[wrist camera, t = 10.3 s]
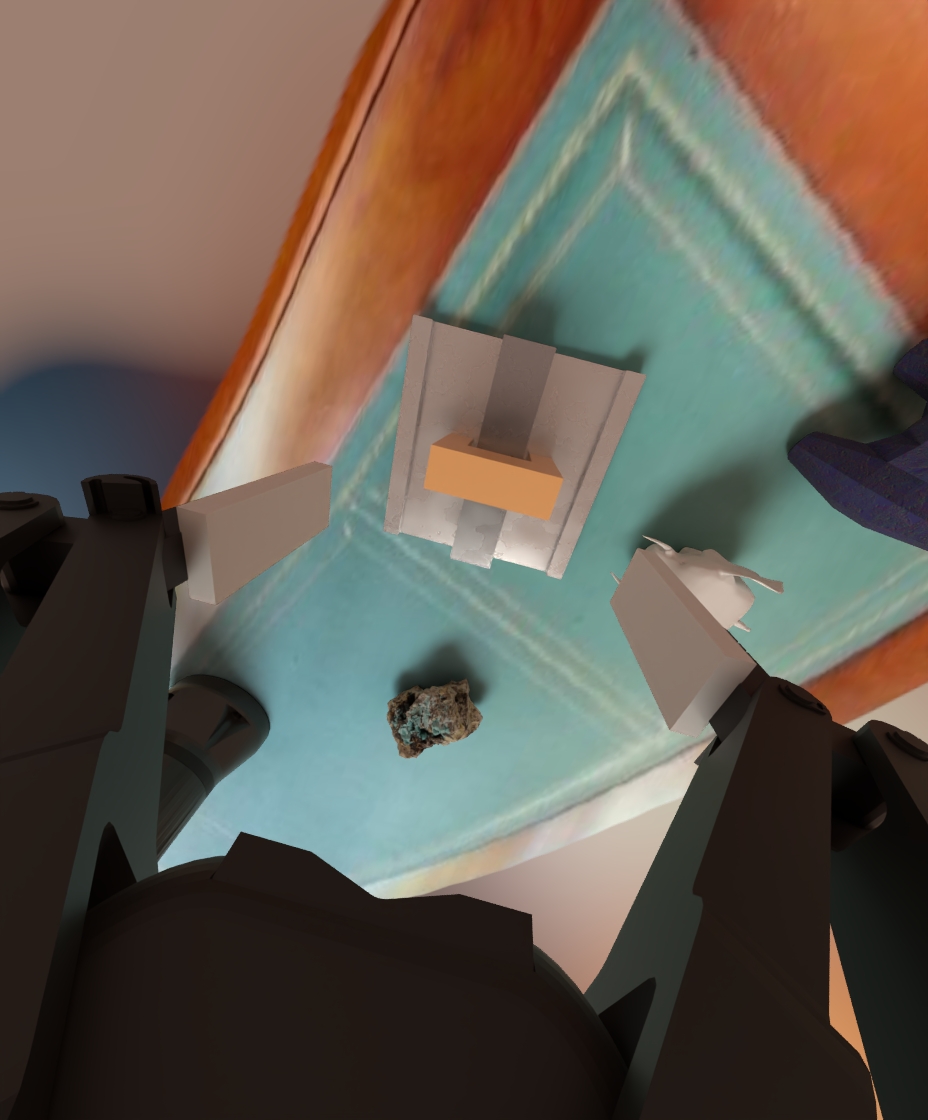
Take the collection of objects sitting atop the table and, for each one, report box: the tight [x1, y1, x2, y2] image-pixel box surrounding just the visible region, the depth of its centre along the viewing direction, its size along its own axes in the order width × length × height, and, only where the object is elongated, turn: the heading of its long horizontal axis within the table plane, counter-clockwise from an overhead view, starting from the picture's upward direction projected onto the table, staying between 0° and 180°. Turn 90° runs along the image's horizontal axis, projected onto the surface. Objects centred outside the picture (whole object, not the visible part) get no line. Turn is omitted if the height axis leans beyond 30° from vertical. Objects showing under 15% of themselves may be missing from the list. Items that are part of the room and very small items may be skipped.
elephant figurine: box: [611, 535, 783, 632], centre depth 30 cm, size 10×12×9 cm
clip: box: [424, 433, 564, 521], centre depth 27 cm, size 9×3×8 cm, turn 77°
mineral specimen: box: [387, 679, 483, 758], centre depth 43 cm, size 12×9×8 cm
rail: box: [383, 314, 646, 579], centre depth 30 cm, size 18×18×4 cm
